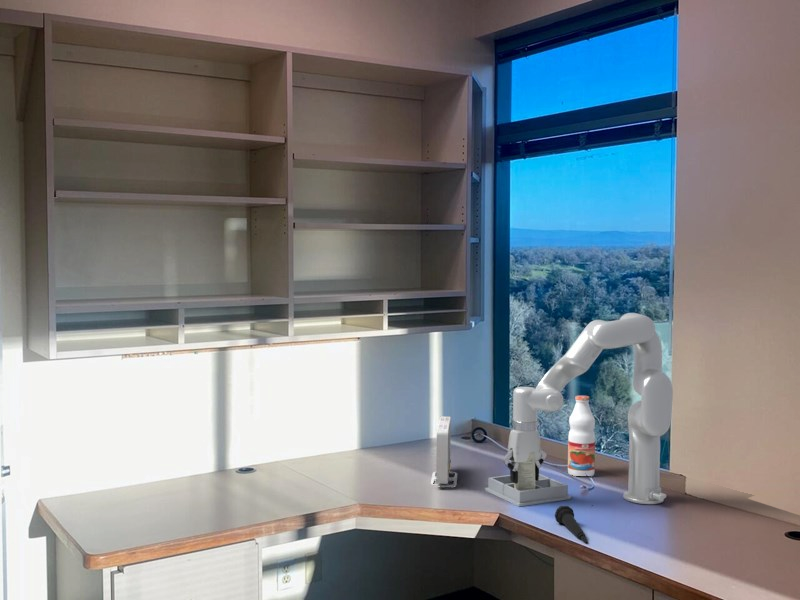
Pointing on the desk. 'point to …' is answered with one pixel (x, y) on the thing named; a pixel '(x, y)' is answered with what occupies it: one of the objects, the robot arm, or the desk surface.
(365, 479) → the desk surface
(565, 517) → the microphone
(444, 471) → the network device
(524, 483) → the skincare box
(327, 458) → the desk surface
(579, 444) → the fruit juice
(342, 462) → the desk surface
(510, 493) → the gray compartment tray
